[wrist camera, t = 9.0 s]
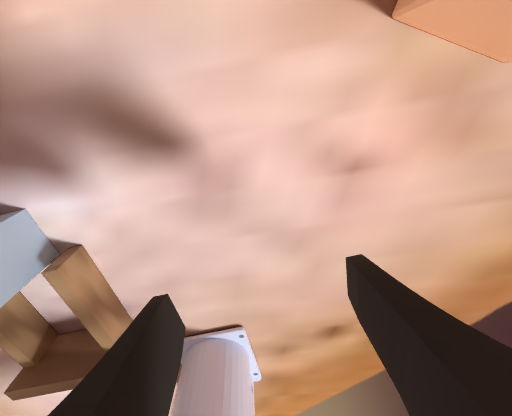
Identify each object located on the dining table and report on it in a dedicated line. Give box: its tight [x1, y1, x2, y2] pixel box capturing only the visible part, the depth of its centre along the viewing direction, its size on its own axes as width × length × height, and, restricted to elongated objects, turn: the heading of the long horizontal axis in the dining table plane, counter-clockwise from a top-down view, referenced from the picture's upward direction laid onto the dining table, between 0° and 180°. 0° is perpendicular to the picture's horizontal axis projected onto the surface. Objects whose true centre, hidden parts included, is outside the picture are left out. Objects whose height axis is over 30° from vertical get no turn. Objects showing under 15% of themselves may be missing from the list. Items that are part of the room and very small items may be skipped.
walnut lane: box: [0, 245, 133, 400], centre depth 20 cm, size 10×9×5 cm
